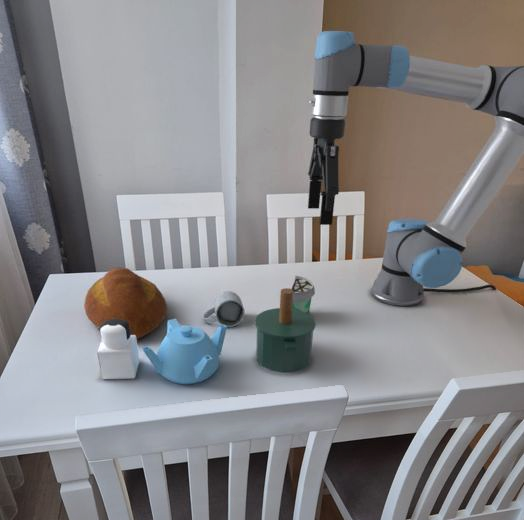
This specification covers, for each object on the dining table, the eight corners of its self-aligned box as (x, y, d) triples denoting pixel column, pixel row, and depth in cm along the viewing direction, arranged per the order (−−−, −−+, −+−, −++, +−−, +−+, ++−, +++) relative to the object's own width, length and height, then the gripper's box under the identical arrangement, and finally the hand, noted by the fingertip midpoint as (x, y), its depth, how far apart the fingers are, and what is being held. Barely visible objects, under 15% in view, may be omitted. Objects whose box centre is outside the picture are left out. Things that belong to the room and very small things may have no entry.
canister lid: (308, 311, 114) (311, 277, 109) (320, 340, 102) (324, 303, 98) (252, 313, 112) (252, 279, 108) (258, 342, 101) (259, 305, 96)
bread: (89, 351, 113) (79, 304, 106) (84, 295, 139) (77, 254, 132) (177, 338, 119) (173, 293, 112) (157, 287, 145) (153, 247, 139)
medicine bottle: (108, 361, 109) (100, 315, 103) (139, 361, 110) (133, 315, 103) (101, 379, 103) (92, 331, 97) (135, 379, 103) (128, 331, 97)
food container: (309, 330, 124) (312, 295, 119) (286, 327, 125) (288, 293, 120) (314, 310, 135) (317, 277, 129) (293, 307, 136) (295, 274, 130)
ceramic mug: (241, 312, 132) (240, 286, 128) (244, 326, 125) (244, 299, 121) (202, 314, 130) (201, 289, 126) (204, 329, 124) (203, 302, 120)
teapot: (231, 356, 112) (230, 316, 107) (212, 393, 100) (210, 350, 94) (170, 348, 115) (166, 308, 109) (144, 383, 102) (138, 340, 97)
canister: (302, 339, 120) (305, 305, 115) (317, 379, 105) (321, 343, 100) (252, 340, 119) (253, 306, 114) (261, 382, 104) (262, 345, 99)
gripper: (300, 111, 112) (294, 202, 124) (324, 123, 91) (314, 232, 102) (331, 112, 113) (323, 202, 124) (361, 124, 92) (348, 231, 103)
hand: (319, 216), depth 113 cm, fingers open, 13 cm apart
